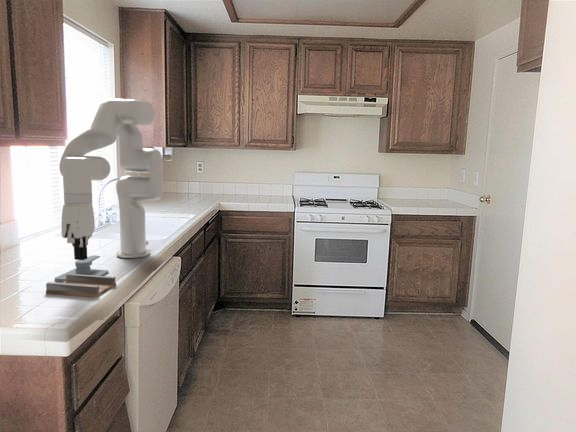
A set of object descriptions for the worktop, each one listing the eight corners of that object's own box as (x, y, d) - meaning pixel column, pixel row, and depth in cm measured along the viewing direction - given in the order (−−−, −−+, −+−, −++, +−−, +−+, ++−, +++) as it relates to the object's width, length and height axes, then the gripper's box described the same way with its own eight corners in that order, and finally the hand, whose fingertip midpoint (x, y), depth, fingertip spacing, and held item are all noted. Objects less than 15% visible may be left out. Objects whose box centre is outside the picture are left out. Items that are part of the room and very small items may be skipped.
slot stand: (69, 282, 138) (68, 273, 138) (116, 285, 136) (115, 276, 136) (45, 293, 127) (45, 283, 127) (96, 297, 126) (96, 287, 125)
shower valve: (113, 255, 151) (88, 267, 137) (113, 270, 152) (89, 283, 138) (80, 253, 153) (52, 264, 138) (80, 268, 154) (53, 281, 139)
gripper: (81, 196, 135) (84, 252, 138) (49, 201, 121) (53, 264, 124) (104, 197, 134) (105, 254, 137) (74, 202, 120) (77, 266, 123)
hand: (80, 259), depth 130 cm, fingers closed
